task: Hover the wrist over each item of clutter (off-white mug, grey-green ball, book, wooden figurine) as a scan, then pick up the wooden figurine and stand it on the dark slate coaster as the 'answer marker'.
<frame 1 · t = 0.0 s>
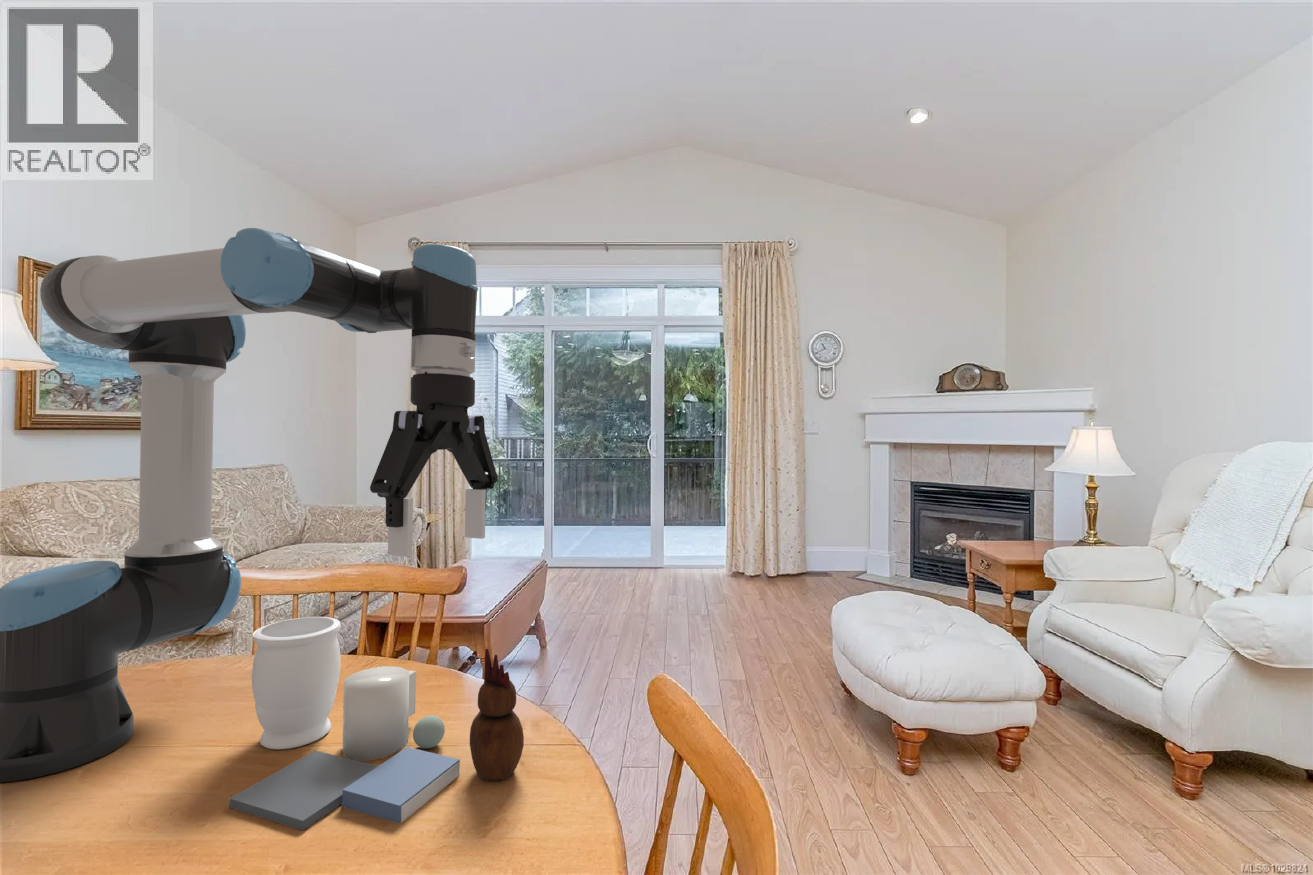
hand: (440, 546, 74), 28 cm above the table, fingers open, 13 cm apart
book: (403, 794, 70), on the table
coaster: (309, 790, 70), on the table
ball: (428, 746, 80), on the table
mug: (376, 744, 80), on the table
wooden figurine: (495, 774, 74), on the table
jar: (296, 736, 82), on the table
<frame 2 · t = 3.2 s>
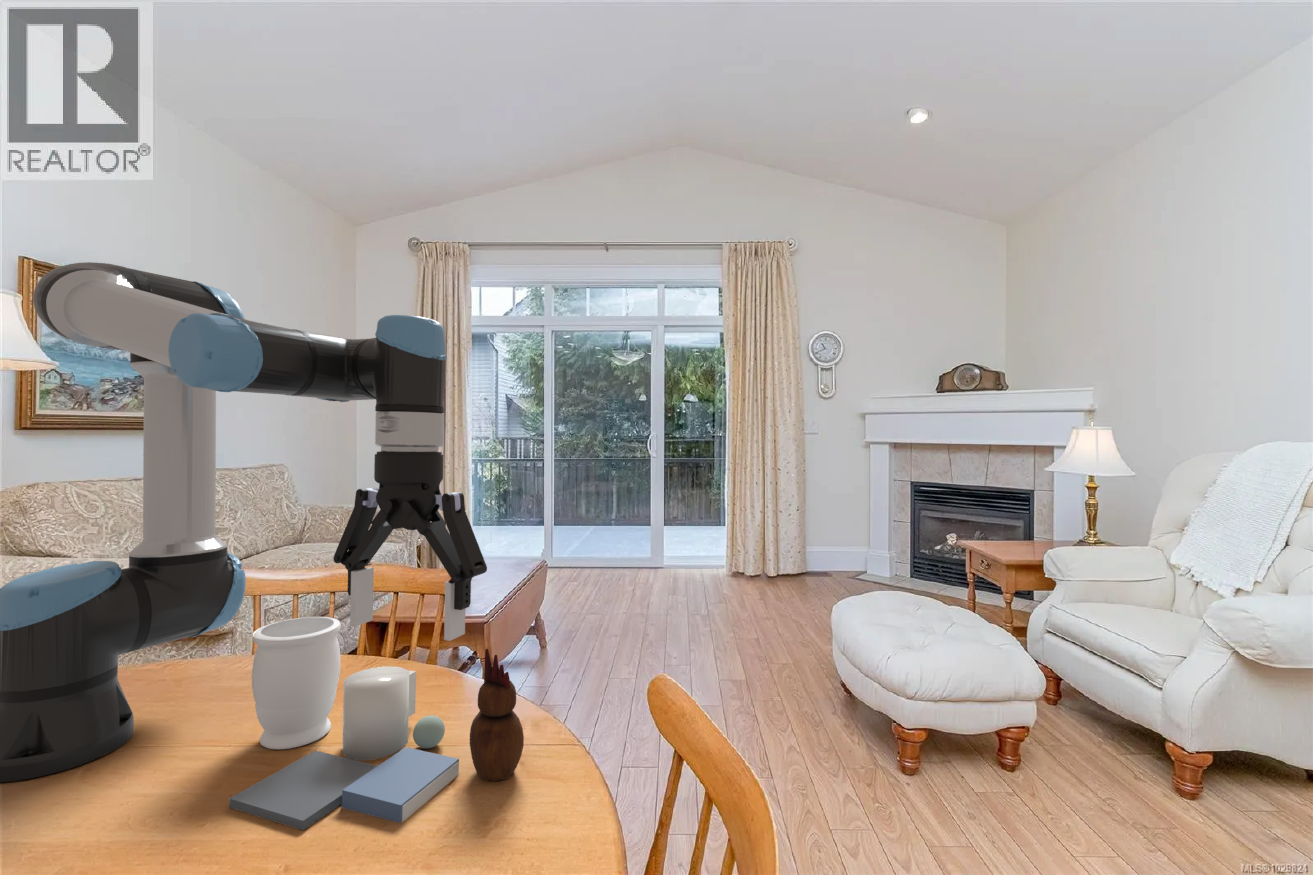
hand: (406, 630, 70), 19 cm above the table, fingers open, 13 cm apart
nothing on the table moved.
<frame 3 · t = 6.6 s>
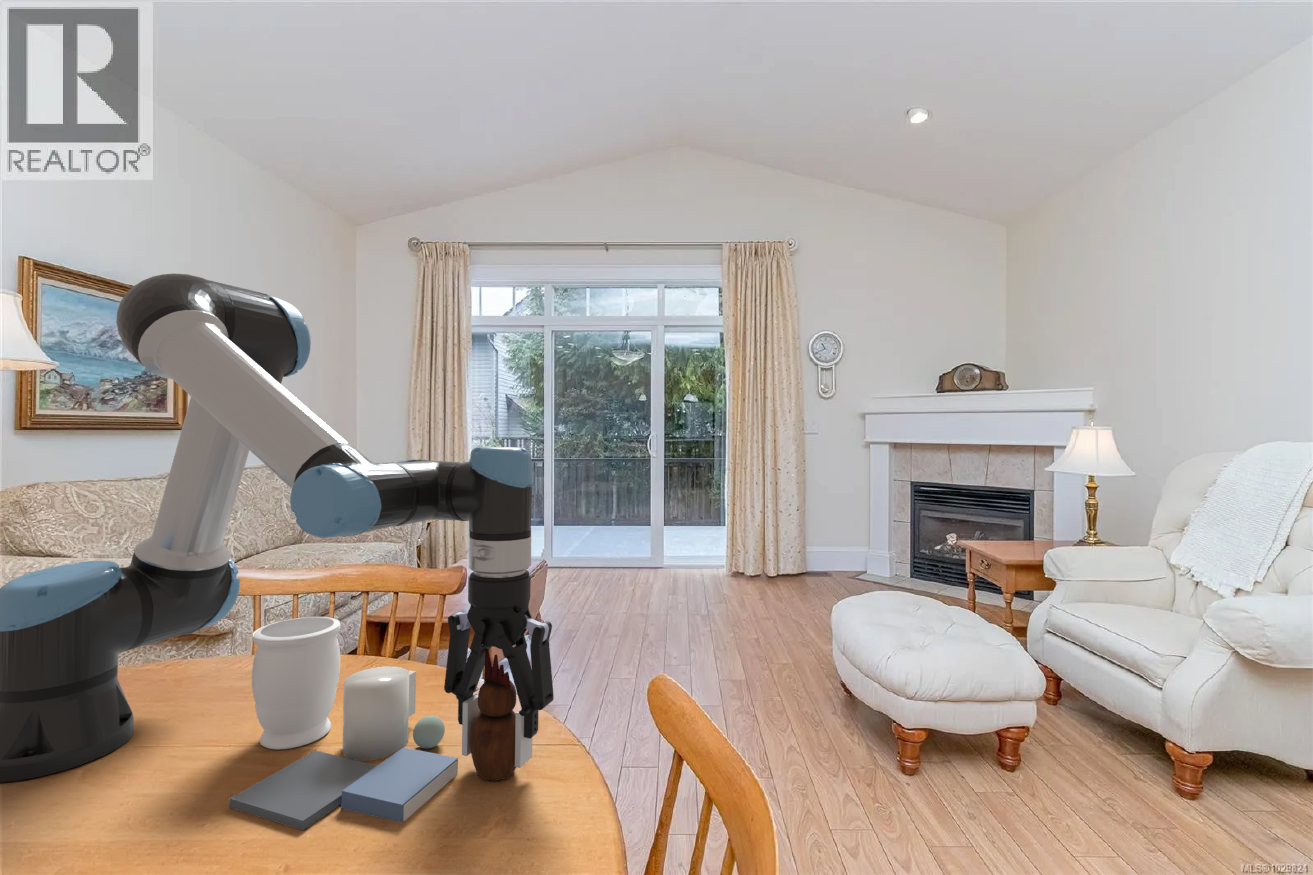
hand: (496, 755, 74), 2 cm above the table, fingers closed on wooden figurine, 7 cm apart
wooden figurine: (495, 774, 74), on the table, touching gripper
everything else where it was.
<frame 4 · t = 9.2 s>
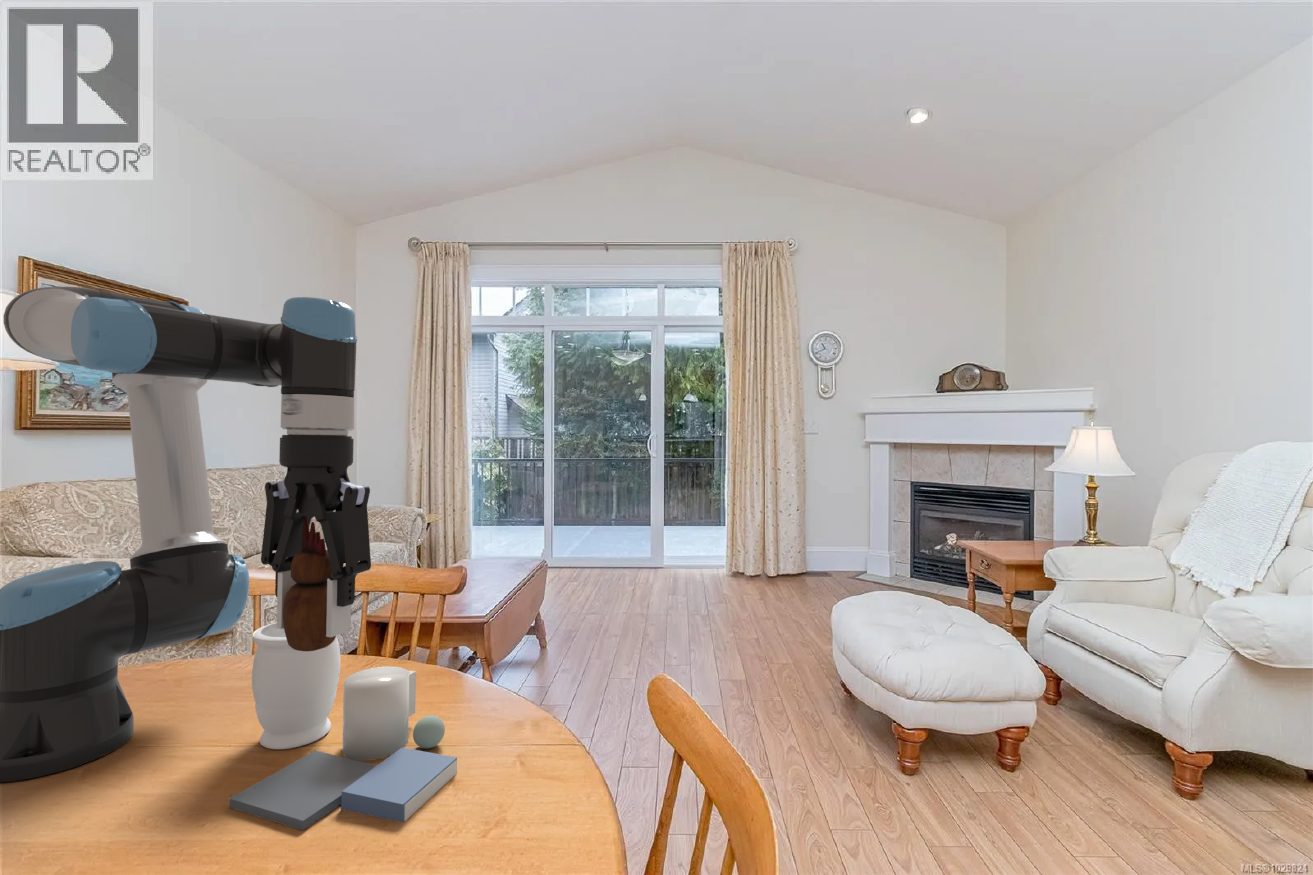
hand: (313, 629, 70), 19 cm above the table, fingers closed on wooden figurine, 7 cm apart
wooden figurine: (311, 648, 70), point 17 cm above the table, touching gripper
everything else where it was.
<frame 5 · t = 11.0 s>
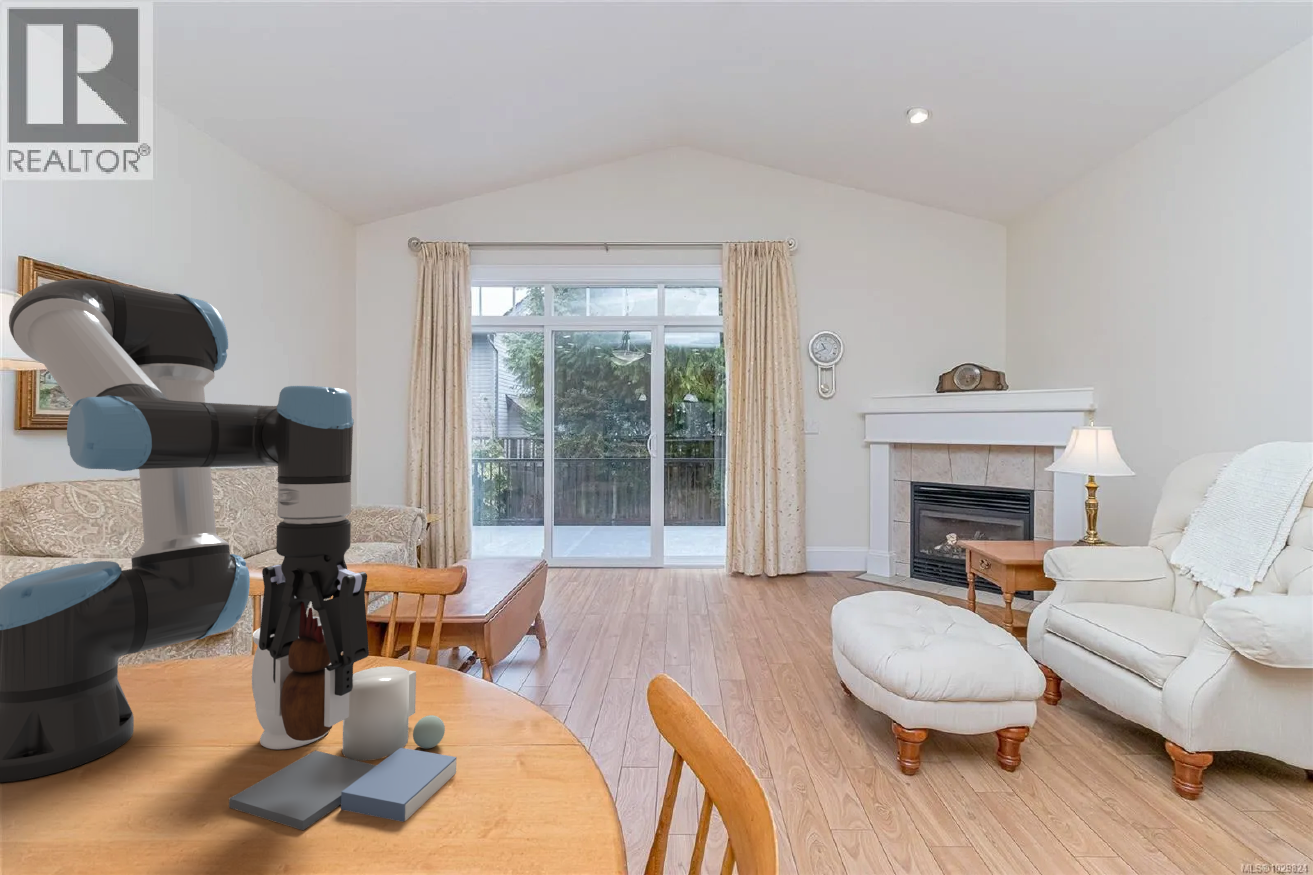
hand: (311, 715, 69), 9 cm above the table, fingers closed on wooden figurine, 7 cm apart
wooden figurine: (310, 735, 69), point 7 cm above the table, touching gripper
everything else where it was.
when the fingers open (4 cm above the table, at t = 12.4 s): wooden figurine stays where it is, resting on coaster.
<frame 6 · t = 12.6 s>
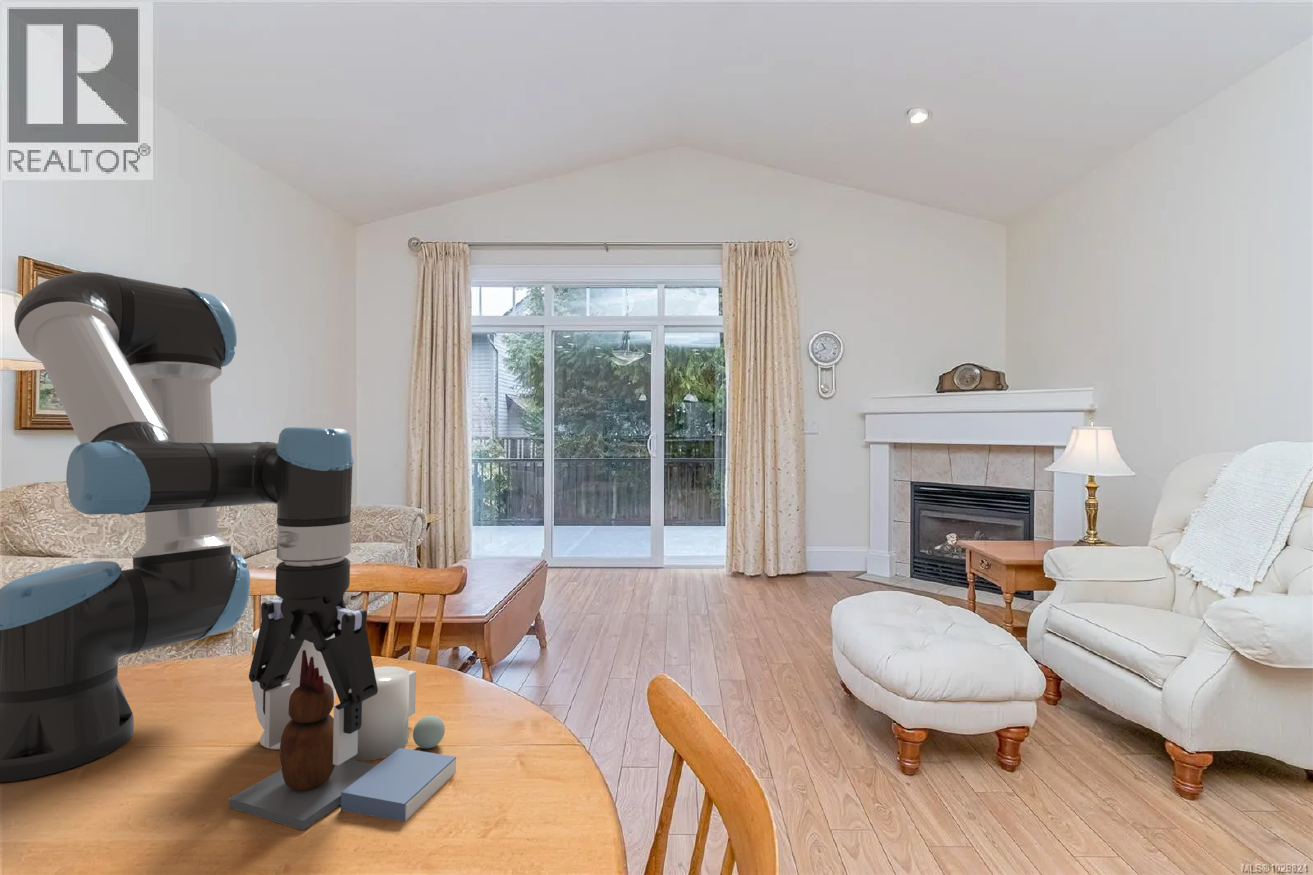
hand: (310, 750, 70), 5 cm above the table, fingers open, 10 cm apart
wooden figurine: (308, 783, 69), point 1 cm above the table, touching coaster
everything else where it was.
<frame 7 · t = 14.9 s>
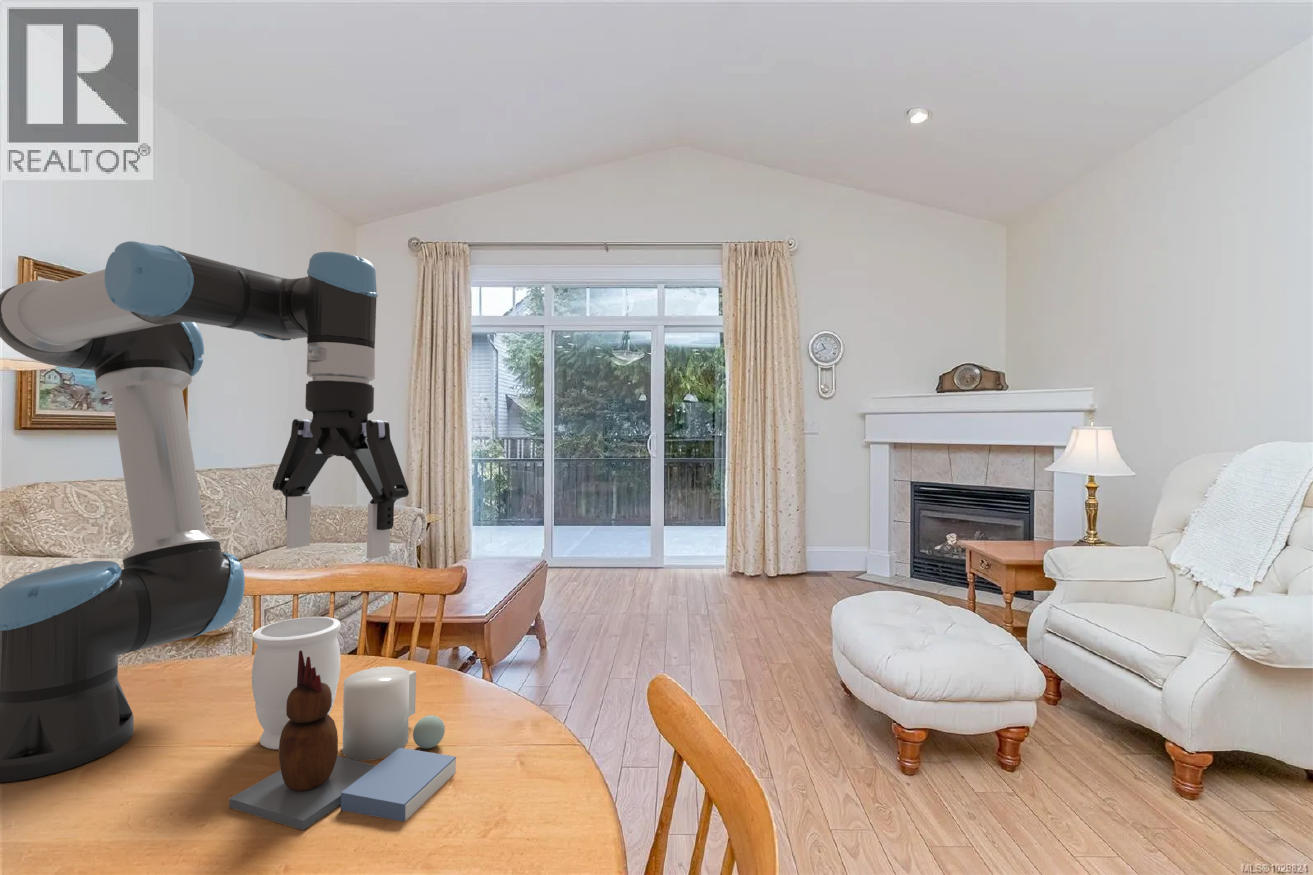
hand: (336, 551, 74), 27 cm above the table, fingers open, 13 cm apart
nothing on the table moved.
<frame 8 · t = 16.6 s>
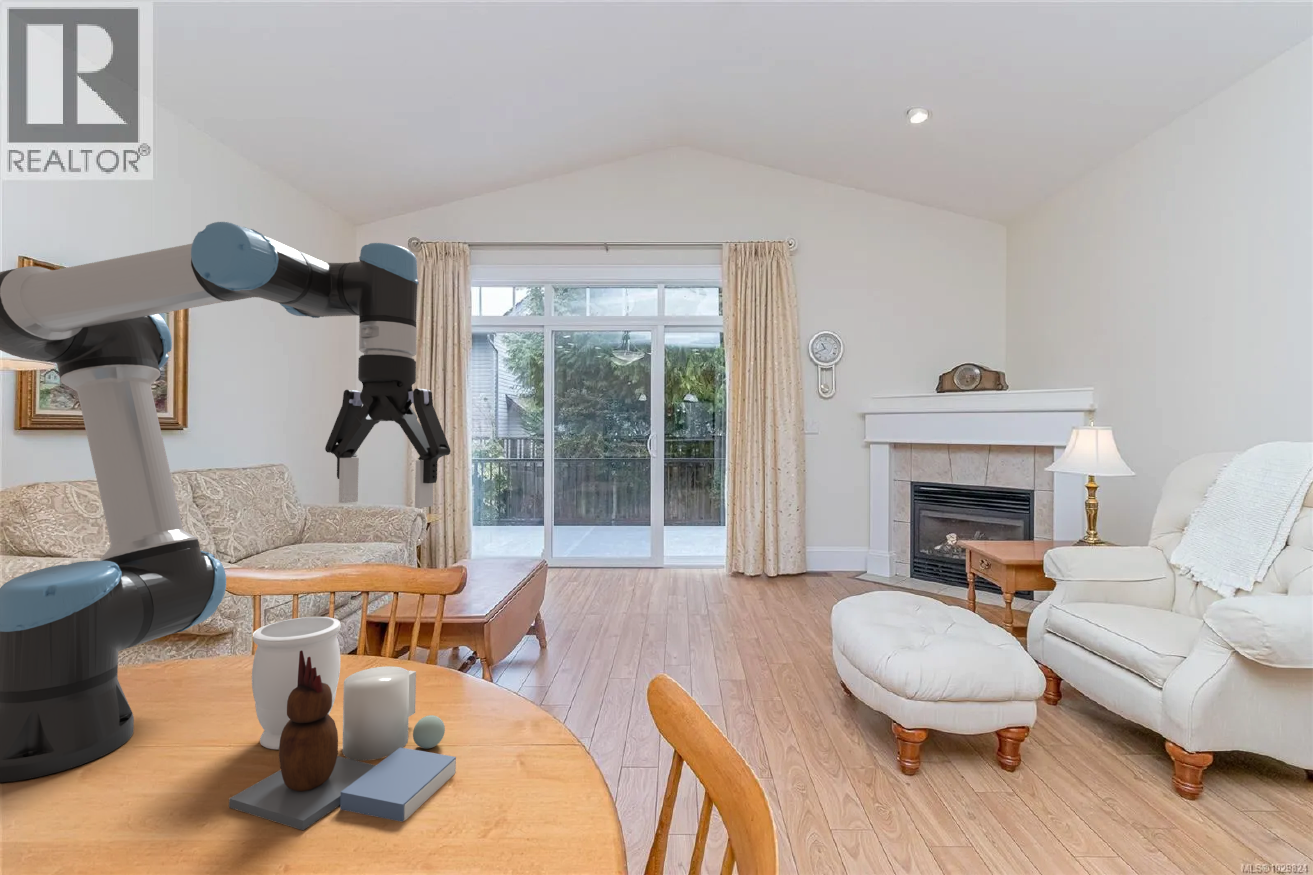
hand: (385, 504, 85), 32 cm above the table, fingers open, 13 cm apart
nothing on the table moved.
at the end: wooden figurine inside the target area on the coaster (0.2 cm from its centre), point 0.8 cm above the coaster's base; wooden figurine tilted 0°; the gripper is holding nothing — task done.
